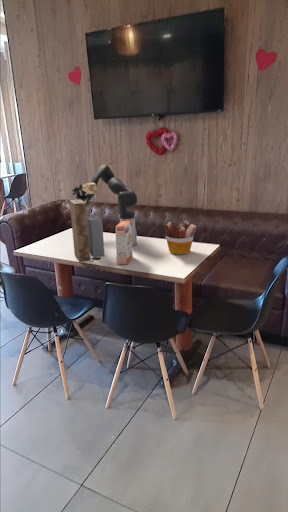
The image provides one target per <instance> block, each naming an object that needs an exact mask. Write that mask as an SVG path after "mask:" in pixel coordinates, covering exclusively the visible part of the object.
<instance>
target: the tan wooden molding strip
mask: <svg viewBox="0 0 288 512" xmlns="http://www.w3.org/2000/svg"><path fill="white" fill-rule="evenodd" d="M97 189H98V186H97V187H96V184H95V183H90V182H87V183H86V182H85V184H82V190H83V191H85V192H87V193H89V194H95V195H96V194H98V190H97Z"/></svg>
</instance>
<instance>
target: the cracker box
mask: <svg viewBox="0 0 288 512" xmlns="http://www.w3.org/2000/svg"><path fill="white" fill-rule="evenodd" d="M115 249H116V250H115V251H116V264H117V265H126V266H127V265H128V263H129V262H130V261H131V259H132V258H133V254H134V253H133V246H132V221H122V222H120V221H119V223H118V224H116V226H115Z"/></svg>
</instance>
